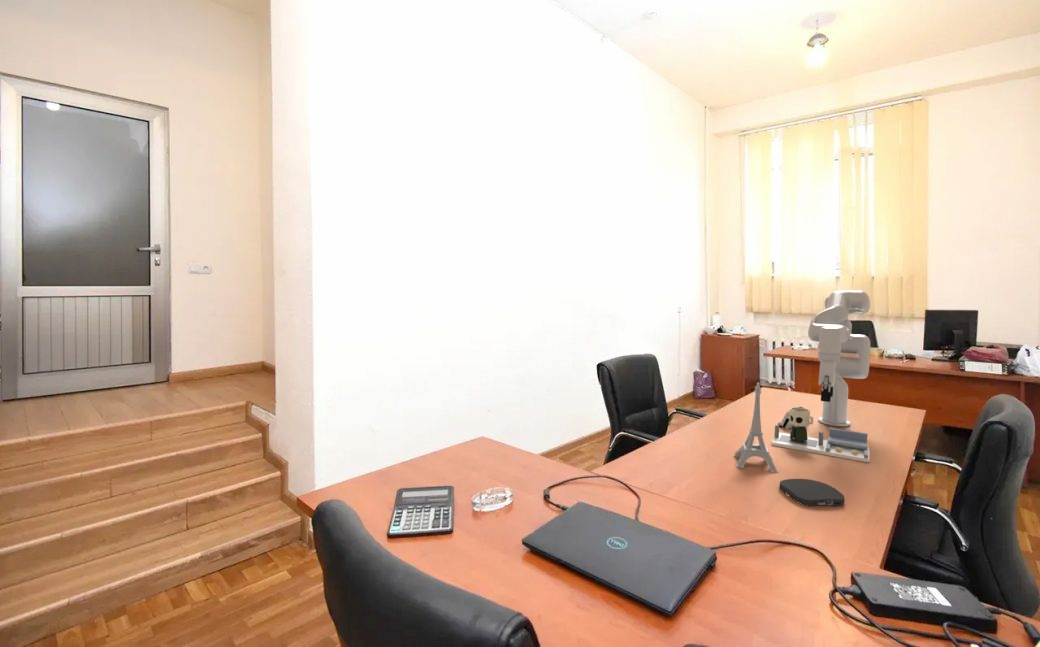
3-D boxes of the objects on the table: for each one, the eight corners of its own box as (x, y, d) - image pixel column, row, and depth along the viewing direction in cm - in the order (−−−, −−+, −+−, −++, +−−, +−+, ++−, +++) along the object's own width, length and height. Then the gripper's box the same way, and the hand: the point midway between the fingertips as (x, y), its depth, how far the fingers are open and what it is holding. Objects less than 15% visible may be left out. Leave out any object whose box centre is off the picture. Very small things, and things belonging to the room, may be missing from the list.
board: (777, 434, 206) (777, 420, 205) (868, 449, 187) (869, 434, 186) (771, 445, 193) (772, 430, 192) (869, 462, 174) (870, 446, 174)
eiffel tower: (736, 467, 170) (739, 385, 167) (733, 455, 182) (736, 378, 180) (778, 472, 165) (782, 388, 163) (772, 459, 178) (776, 380, 175)
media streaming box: (818, 486, 155) (818, 477, 155) (850, 507, 140) (851, 497, 140) (774, 487, 154) (774, 478, 154) (802, 508, 140) (802, 498, 140)
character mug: (780, 438, 198) (781, 407, 196) (790, 435, 201) (792, 405, 200) (806, 445, 188) (808, 413, 187) (817, 442, 191) (818, 411, 190)
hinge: (792, 419, 228) (800, 401, 225) (802, 425, 225) (810, 407, 221) (776, 426, 218) (784, 407, 214) (786, 432, 215) (795, 413, 211)
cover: (829, 437, 194) (829, 427, 194) (866, 443, 187) (867, 433, 187) (828, 442, 188) (828, 432, 187) (866, 449, 180) (867, 438, 180)
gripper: (820, 353, 200) (818, 393, 202) (815, 359, 187) (813, 401, 189) (841, 355, 196) (839, 395, 198) (838, 361, 182) (835, 404, 184)
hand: (826, 398), depth 193 cm, fingers open, 9 cm apart
